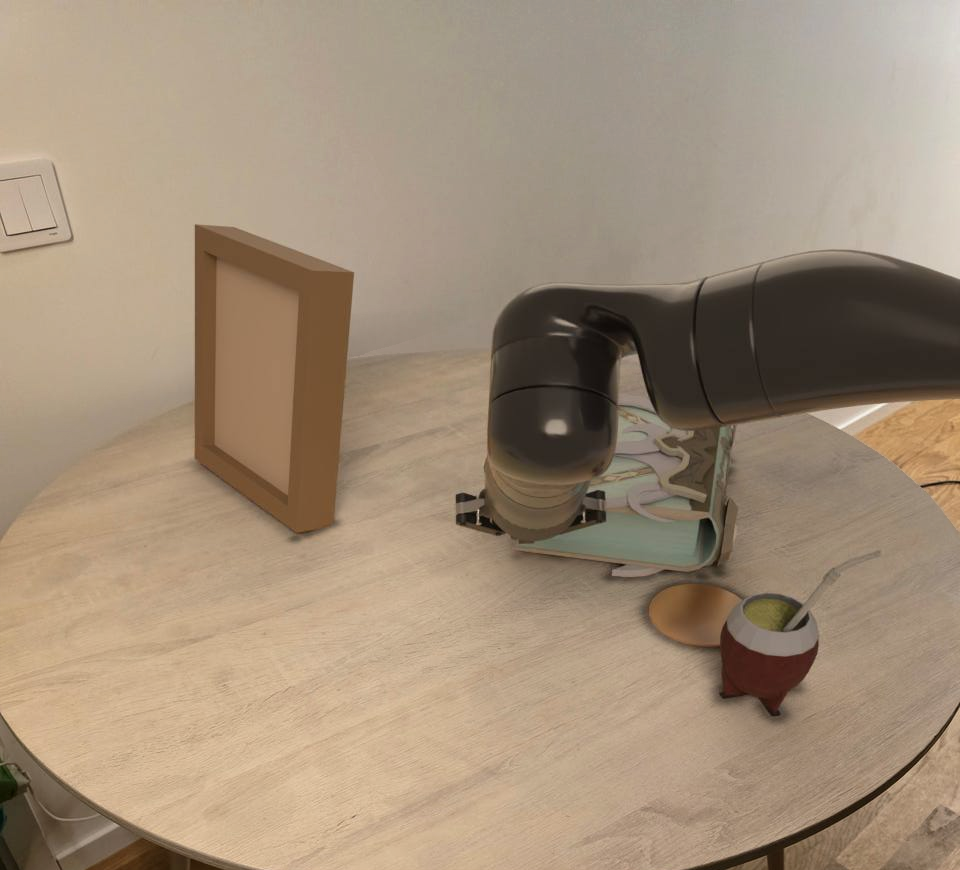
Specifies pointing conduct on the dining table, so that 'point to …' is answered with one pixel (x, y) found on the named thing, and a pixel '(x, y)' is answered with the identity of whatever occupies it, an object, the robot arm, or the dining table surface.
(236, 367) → the photo frame
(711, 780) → the dining table surface
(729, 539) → the ornate book
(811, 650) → the mate gourd
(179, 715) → the dining table surface
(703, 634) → the shallow brown plate
